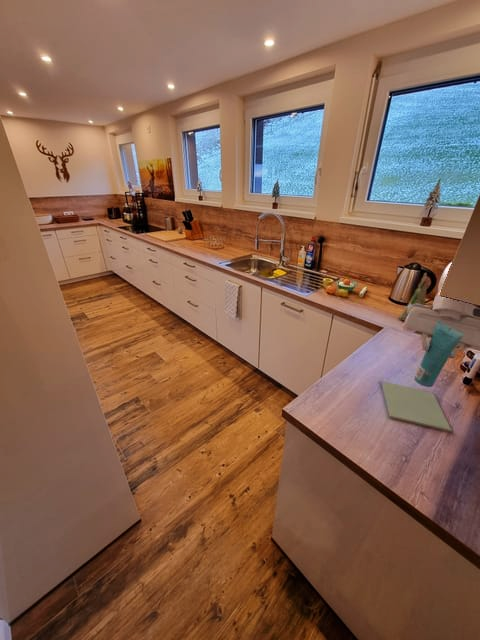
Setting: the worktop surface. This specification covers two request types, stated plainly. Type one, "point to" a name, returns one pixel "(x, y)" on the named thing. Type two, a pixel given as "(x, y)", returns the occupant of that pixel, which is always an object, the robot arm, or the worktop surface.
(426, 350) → the robot arm
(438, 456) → the worktop surface
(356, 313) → the worktop surface
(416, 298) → the pouch
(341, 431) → the worktop surface
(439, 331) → the tube
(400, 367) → the worktop surface
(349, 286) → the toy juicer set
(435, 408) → the mat
